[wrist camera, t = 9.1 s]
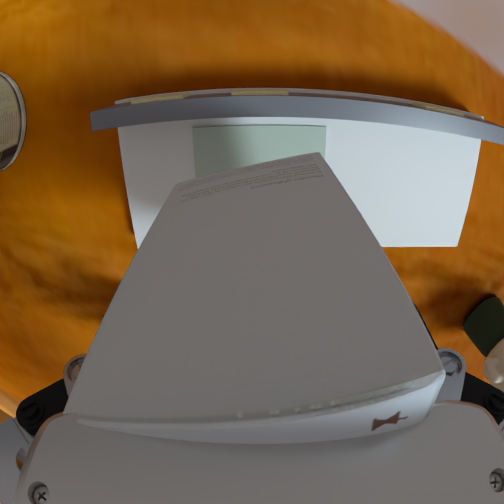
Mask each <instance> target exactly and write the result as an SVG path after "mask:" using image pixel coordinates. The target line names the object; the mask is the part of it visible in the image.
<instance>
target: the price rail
mask: <svg viewBox="0 0 504 504" xmlns="http://www.w3.org/2000/svg"><path fill="white" fill-rule="evenodd" d="M89 113H90V121H91V129H92V131H97V130H103V129H110V128H117V127H124V126H131V125H139V124H148V123H157V122H168V121H179V120H193V119H209V118H233V117H300V118H324V119H340V120H354V121H365V122H375V123H384V124H393V125H401V126H408V127H416V128H422V129H429V130H435V131H441V132H446V133H452V134H457V135H462V136H467V137H472V138H477V139H481V140H486V141H490V142H494V143H498V144H502V145H504V127H502V126H500V125H497V124H495V123H492V122H489V121H487V120H484V119H480V118H476V117H473V116H468V115H464V114H463V113H460V112H457V111H454V110H450V109H446V108H442V107H437V106H432V105H426V104H421V103H415V102H412V104H409V103H403V102H397V101H390V100H382V99H375V98H366V97H357V96H346V95H334V94H319V93H298V92H288V91H286V90H233V91H232V92H231V93H210V94H195V95H189V93H181V94H171V95H162V96H154V97H146V98H140V99H137V100H133V101H131V102H126V103H119V104H114V105H111V106H108V107H104V108H101V109H98V110H95V111H92V112H89Z"/></svg>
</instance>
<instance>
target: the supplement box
mask: <svg viewBox="0 0 504 504" xmlns="http://www.w3.org/2000/svg"><path fill="white" fill-rule="evenodd" d="M445 376H446V372H445V369H444V367H443V364H442V362H441V360H440V357H439V355H438V353H437V351H436V348H435V346H434V344H433V342H432V340H431V338H430V336H429V334H428V332H427V330H426V328H425V326H424V324H423V322H422V320H421V318H420V316H419V314H418V312H417V310H416V308H415V306H414V304H413V302H412V300H411V298H410V297H409V295H408V293H407V291H406V289H405V287H404V286H403V284H402V282H401V280H400V279H399V277H398V275H397V273H396V271H395V270H394V268H393V266H392V264H391V263H390V261H389V259H388V258H387V256H386V254H385V252H384V251H383V249H382V247H381V245H380V244H379V242H378V240H377V239H376V237H375V236H374V234H373V232H372V231H371V229H370V228H369V226H368V224H367V223H366V221H365V219H364V218H363V216H362V215H361V213H360V211H359V210H358V208H357V207H356V205H355V204H354V202H353V201H352V199H351V198H350V196H349V195H348V193H347V192H346V190H345V189H344V187H343V186H342V184H341V183H340V181H339V180H338V178H337V177H336V175H335V174H334V172H333V171H332V169H331V168H330V167H329V165H328V164H327V162H326V161H325V160H324V158H323V157H322V155H321V153H319V152H315V153H309V154H303V155H298V156H292V157H287V158H282V159H277V160H273V161H267V162H262V163H258V164H254V165H249V166H244V167H240V168H235V169H231V170H227V171H223V172H218V173H214V174H210V175H207V176H203V177H198V178H194V179H191V180H187V181H183V182H180V183H177V184H176V185H175V186H174V188H173V189H172V191H171V193H170V194H169V196H168V198H167V199H166V201H165V202H164V204H163V206H162V208H161V209H160V211H159V213H158V215H157V216H156V218H155V220H154V222H153V223H152V225H151V227H150V229H149V231H148V232H147V234H146V236H145V238H144V239H143V241H142V243H141V245H140V247H139V249H138V251H137V252H136V254H135V256H134V258H133V260H132V262H131V264H130V266H129V267H128V269H127V271H126V273H125V275H124V277H123V279H122V281H121V282H120V285H119V287H118V289H117V291H116V293H115V295H114V297H113V299H112V301H111V303H110V305H109V307H108V309H107V311H106V313H105V315H104V317H103V319H102V322H101V324H100V326H99V328H98V331H97V333H96V335H95V337H94V339H93V341H92V343H91V346H90V348H89V350H88V353H87V355H86V357H85V360H84V362H83V364H82V367H81V369H80V372H79V374H78V377H77V379H76V382H75V384H74V386H73V389H72V391H71V394H70V396H69V399H68V401H67V404H66V406H65V409H64V411H63V414H69V413H78V416H79V417H81V419H79V420H77V421H76V422H78V423H81V424H84V425H87V426H91V427H96V428H101V429H106V430H111V431H117V432H123V433H129V434H135V435H142V436H150V437H158V438H166V439H175V440H184V441H195V442H209V443H232V444H287V443H306V442H320V441H331V440H340V439H349V438H357V437H363V436H369V435H374V434H379V433H384V432H389V431H393V430H397V429H401V428H404V427H408V426H411V425H414V424H417V423H420V422H422V421H423V420H424V419H425V418H426V417H428V416H429V414H430V412H431V410H432V407H433V405H434V402H435V400H436V397H437V395H438V393H439V390H440V388H441V386H442V384H443V382H444V379H445Z"/></svg>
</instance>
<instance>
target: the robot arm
mask: <svg viewBox="0 0 504 504" xmlns="http://www.w3.org/2000/svg"><path fill="white" fill-rule="evenodd" d="M413 304H414V303H413ZM414 306H415V308H416V310H417V312H418V314H419V316H420V318H421V320H422V322H423V324H424V326H425V328H426V330H427V332H428V334H429V336H430V338H431V340H432V342H433V344H434V346H435V348H436V351H437V353H438V355H439V357H440V360H441V362H442V364H443V367H444V369H445V372H446V376H445V379H444V382H443V384H442V386H441V388H440V390H439V393H438V395H437V397H436V400H435V402H434V405H433V407H432V410H431V412H430V414H429V416H428V417H426V418H425V419H424V420H423V421H422V422H420V423H417V424H414V425H411V426H408V427H404V428H401V429H397V430H393V431H389V432H384V433H379V434H374V435H369V436H363V437H357V438H349V439H340V440H331V441H320V442H306V443H287V444H232V443H209V442H195V441H184V440H175V439H166V438H158V437H150V436H142V435H135V434H129V433H123V432H117V431H111V430H106V429H101V428H96V427H91V426H87V425H84V424H81V423H78V422H76V421H77V420H79V419H81V417H79V416H78V413H69V414H63V411H64V409H65V406H66V404H67V401H68V399H69V396H70V394H71V391H72V389H73V386H74V384H75V382H76V379H77V377H78V374H79V372H80V369H81V367H82V364H83V362H84V360H85V357H86V355H87V354H80V355H77V356H75V357H73V358H71V359H70V360H69V361H68V362H67V364H66V365H65V367H64V370H63V377H64V378H63V379H61V380H59V381H57V382H55V383H53V384H52V385H50V386H48V387H46V388H44V389H42V390H40V391H39V392H37V393H35V394H33V395H31V396H29V397H27V398H26V399H24V400H23V401H22V402H21V403H20V404H19V406H18V408H17V411H16V417H15V418H14V419H13V418H12V417H10V418H8V419H7V420H6V421H5V422H3V423H2V424H1V425H0V502H1V503H2V504H504V392H503V391H501V390H500V389H498V388H496V387H494V386H492V385H490V384H488V383H486V382H484V381H482V380H480V379H478V378H476V377H475V376H473V375H471V374H469V373H467V372H466V364H465V361H464V359H463V358H462V356H461V355H460V354H459V353H457V352H456V351H454V350H452V349H448V348H441V349H438V348H437V346H436V344H435V342H434V340H433V338H432V336H431V334H430V332H429V330H428V328H427V326H426V324H425V322H424V320H423V318H422V316H421V315H420V313H419V311H418V309H417V307H416V305H415V304H414Z"/></svg>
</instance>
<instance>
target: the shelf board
mask: <svg viewBox="0 0 504 504" xmlns="http://www.w3.org/2000/svg"><path fill="white" fill-rule="evenodd" d="M233 90H286V91H288V92H298V93H319V94H334V95H346V96H357V97H366V98H375V99H382V100H390V101H397V102H403V103H409V104H412V102H415V103H421V104H426V105H432V106H437V107H442V108H446V109H450V110H454V111H457V112H460V113H463V114H464V115H468V116H473V117H476V118H480V119H484V117H482V116H479V115H476V114H474V113H470V112H466V111H462V110H458V109H454V108H449V107H445V106H440V105H435V104H430V103H425V102H420V101H414V100H408V99H402V98H396V97H389V96H382V95H374V94H366V93H356V92H346V91H335V90H320V89H301V88H228V89H209V90H194V91H183V92H172V93H163V94H155V95H147V96H140V97H133V98H126V99H122V100H118V101H115V104H119V103H126V102H131V101H133V100H137V99H140V98H146V97H154V96H162V95H171V94H181V93H189V95H195V94H210V93H231V92H232V91H233ZM118 135H119V143H120V151H121V158H122V165H123V172H124V178H125V184H126V190H127V196H128V202H129V207H130V213H131V218H132V223H133V228H134V233H135V238H136V243H137V247H138V249H139V247H140V245H141V243H142V241H143V239H144V238H145V236H146V234H147V232H148V231H149V229H150V227H151V225H152V223H153V222H154V220H155V218H156V216H157V215H158V213H159V211H160V209H161V208H162V206H163V204H164V202H165V201H166V199H167V198H168V196H169V194H170V193H171V191H172V189H173V188H174V186H175V185H176V184H177V183H180V182H183V181H187V180H191V179H194V178H198V177H203V176H207V175H210V174H214V173H218V172H223V171H227V170H231V169H235V168H240V167H244V166H249V165H254V164H258V163H262V162H267V161H273V160H277V159H282V158H287V157H292V156H298V155H303V154H309V153H315V152H319V153H321V155H322V157H323V158H324V160H325V161H326V162H327V164H328V165H329V167H330V168H331V169H332V171H333V172H334V174H335V175H336V177H337V178H338V180H339V181H340V183H341V184H342V186H343V187H344V189H345V190H346V192H347V193H348V195H349V196H350V198H351V199H352V201H353V202H354V204H355V205H356V207H357V208H358V210H359V211H360V213H361V215H362V216H363V218H364V219H365V221H366V223H367V224H368V226H369V228H370V229H371V231H372V232H373V234H374V236H375V237H376V239H377V240H378V242H379V244H380V245H381V247H455V246H457V244H458V241H459V237H460V234H461V230H462V227H463V223H464V220H465V216H466V212H467V208H468V204H469V200H470V195H471V191H472V186H473V182H474V177H475V172H476V167H477V161H478V156H479V150H480V143H481V139H477V138H472V137H467V136H462V135H457V134H452V133H446V132H441V131H435V130H429V129H422V128H416V127H408V126H401V125H393V124H384V123H375V122H365V121H354V120H340V119H324V118H300V117H233V118H209V119H193V120H179V121H168V122H157V123H148V124H139V125H131V126H124V127H118Z"/></svg>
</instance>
